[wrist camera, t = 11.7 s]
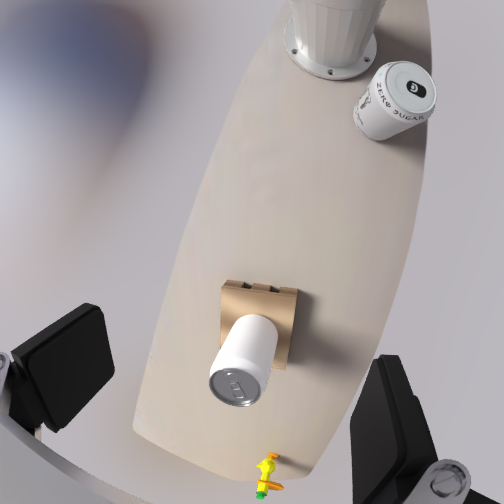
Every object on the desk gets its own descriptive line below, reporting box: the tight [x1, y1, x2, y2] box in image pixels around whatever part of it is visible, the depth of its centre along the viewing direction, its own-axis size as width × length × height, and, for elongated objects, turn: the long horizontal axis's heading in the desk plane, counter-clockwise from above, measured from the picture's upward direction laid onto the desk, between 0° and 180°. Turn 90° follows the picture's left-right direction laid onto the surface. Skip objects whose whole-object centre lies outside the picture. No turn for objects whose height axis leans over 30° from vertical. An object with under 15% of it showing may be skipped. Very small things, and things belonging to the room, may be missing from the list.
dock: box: [220, 280, 298, 370], centre depth 40 cm, size 12×10×3 cm
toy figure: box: [256, 453, 284, 499], centre depth 44 cm, size 7×4×12 cm, turn 72°
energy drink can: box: [353, 61, 437, 141], centre depth 24 cm, size 6×6×15 cm
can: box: [209, 314, 278, 407], centre depth 33 cm, size 6×6×12 cm
